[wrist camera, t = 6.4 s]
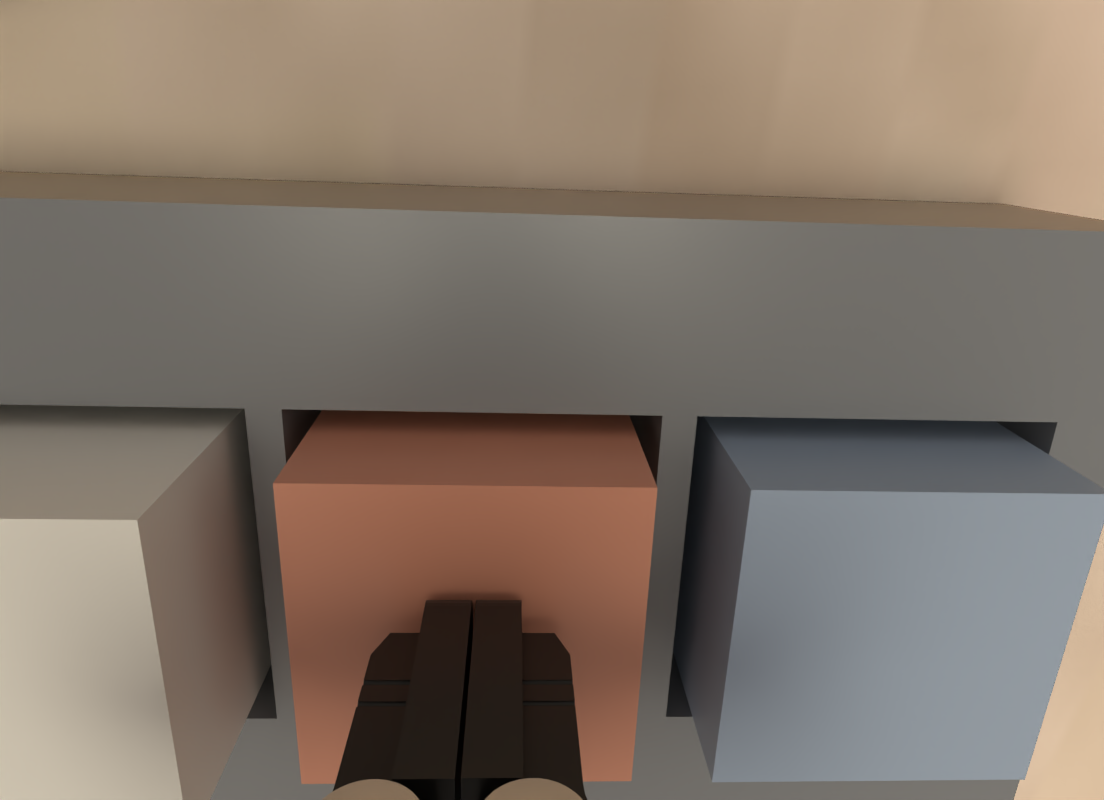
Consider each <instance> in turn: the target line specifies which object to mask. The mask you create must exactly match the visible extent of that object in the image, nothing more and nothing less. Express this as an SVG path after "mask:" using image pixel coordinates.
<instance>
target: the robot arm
mask: <svg viewBox="0 0 1104 800" xmlns="http://www.w3.org/2000/svg"><path fill="white" fill-rule="evenodd" d="M322 800H587V797H586V795H585V791H584V786H583V777H582V767H581V757H580V747H579V737H578V727H577V717H576V707H575V697H574V688H573V678H572V668H571V658H570V654H569V652H568V651H567V650H566V648H565V647H564V645H563V644H562V643H561V641H560V640H559V638H558V637H557V636H556V634H555V633H522V601H521V600H476V607H475V619H474V630H473V602H472V600H426V602H425V607H424V612H423V617H422V623H421V628H420V633H390V634H389V635H388V636H387V637H386V638H385V639H384V640H383V641H382V643H381V644H380V645H379V646H378V647H377V648H376V649H375V650H374V651H373V653H372V654H371V655H370V659H369V662H368V666H367V670H366V673H365V677H364V683H363V685H362V688H361V691H360V695H359V699H358V706H357V707H356V709H355V713H354V717H353V720H352V724H351V728H350V731H349V735H348V738H347V742H346V746H345V749H344V753H343V757H342V760H341V764H340V768H339V771H338V775H337V778H336V782H335V786H334V789H333V791H332V792H331V793H330V794H328V795H327V796H326V797H325V798H323V799H322Z"/></svg>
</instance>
